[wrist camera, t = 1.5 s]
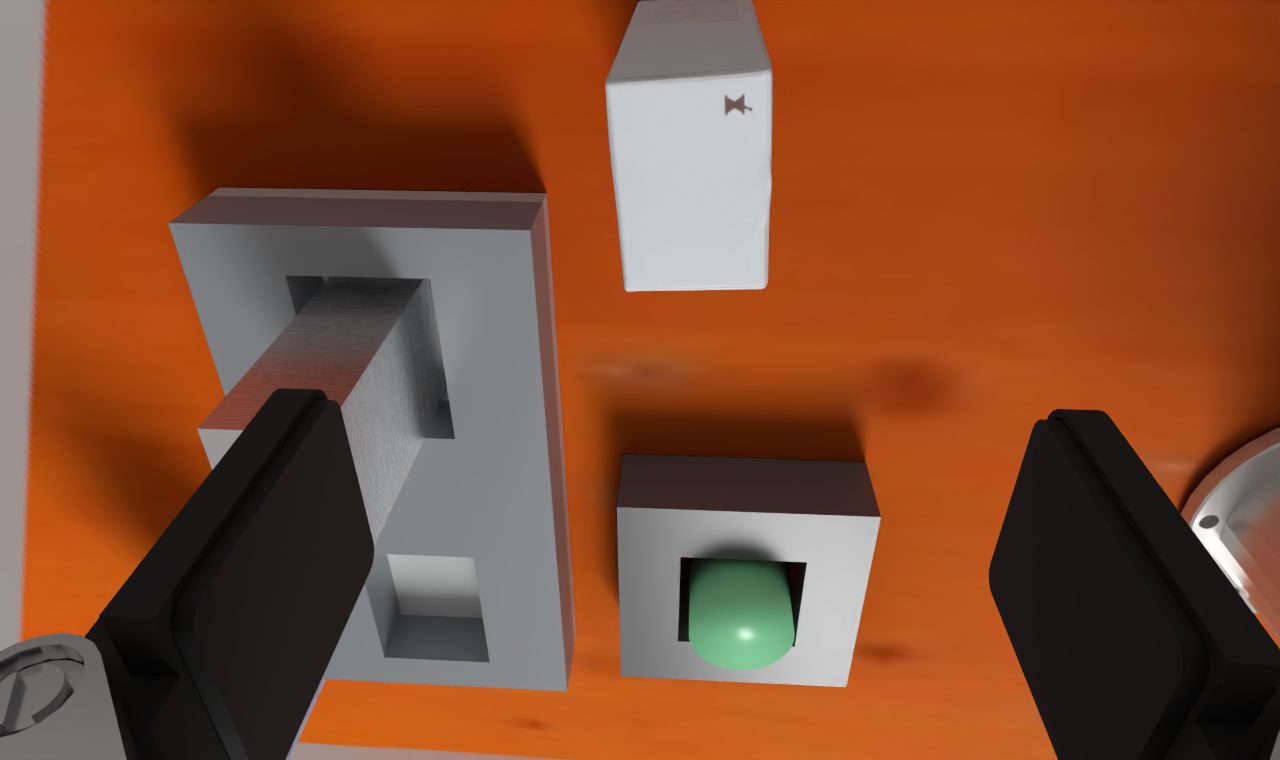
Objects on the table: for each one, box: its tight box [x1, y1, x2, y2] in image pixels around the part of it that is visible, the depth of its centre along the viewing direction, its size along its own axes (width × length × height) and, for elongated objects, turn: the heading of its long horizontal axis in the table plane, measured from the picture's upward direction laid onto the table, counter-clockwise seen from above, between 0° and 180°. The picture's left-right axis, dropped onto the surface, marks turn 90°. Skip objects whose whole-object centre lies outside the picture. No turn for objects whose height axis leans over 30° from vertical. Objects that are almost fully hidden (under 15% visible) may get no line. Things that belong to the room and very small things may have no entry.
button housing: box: [617, 454, 881, 687], centre depth 43 cm, size 12×12×4 cm
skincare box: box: [605, 0, 772, 291], centre depth 26 cm, size 6×4×12 cm
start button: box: [689, 558, 795, 670], centre depth 41 cm, size 5×5×4 cm
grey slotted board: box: [168, 188, 576, 691], centre depth 40 cm, size 14×27×4 cm, turn 0°
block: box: [198, 277, 447, 545], centre depth 32 cm, size 4×6×12 cm, turn 0°
